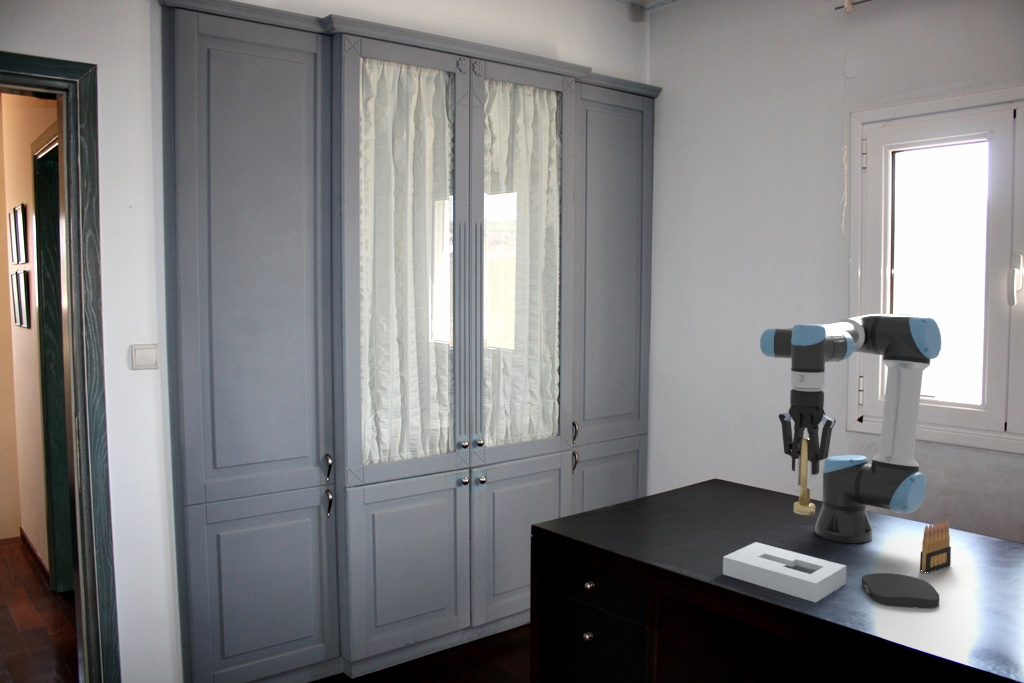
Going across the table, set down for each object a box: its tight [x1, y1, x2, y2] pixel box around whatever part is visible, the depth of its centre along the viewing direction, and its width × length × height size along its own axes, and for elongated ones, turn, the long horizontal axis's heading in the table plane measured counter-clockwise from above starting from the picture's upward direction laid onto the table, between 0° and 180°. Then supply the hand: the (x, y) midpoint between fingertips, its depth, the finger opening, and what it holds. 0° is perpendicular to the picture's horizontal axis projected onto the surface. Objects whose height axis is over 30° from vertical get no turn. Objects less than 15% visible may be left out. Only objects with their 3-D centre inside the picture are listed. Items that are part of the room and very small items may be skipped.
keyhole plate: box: [722, 541, 847, 603], centre depth 189 cm, size 24×16×4 cm, turn 43°
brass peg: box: [793, 437, 816, 516], centre depth 183 cm, size 5×5×18 cm
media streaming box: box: [861, 572, 940, 609], centre depth 179 cm, size 15×15×3 cm
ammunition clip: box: [919, 519, 952, 574], centre depth 195 cm, size 11×2×12 cm, turn 121°
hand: (804, 485), depth 184 cm, fingers closed on brass peg, 2 cm apart
